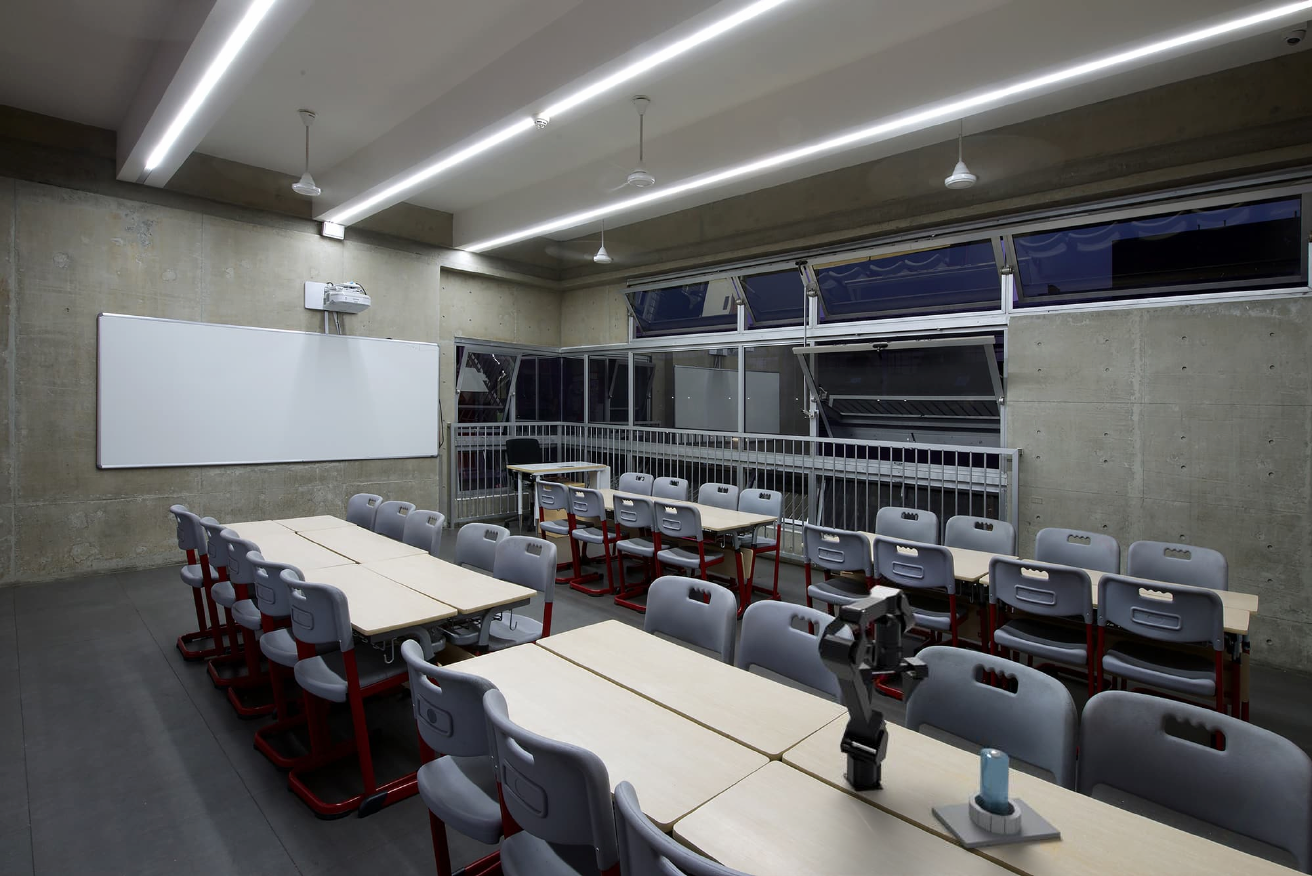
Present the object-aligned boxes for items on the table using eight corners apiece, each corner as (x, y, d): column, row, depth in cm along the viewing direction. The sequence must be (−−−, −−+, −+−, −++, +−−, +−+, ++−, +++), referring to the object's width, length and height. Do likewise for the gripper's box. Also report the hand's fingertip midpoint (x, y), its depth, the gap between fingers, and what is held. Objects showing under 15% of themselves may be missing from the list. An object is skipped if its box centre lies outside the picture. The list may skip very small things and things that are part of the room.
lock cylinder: (977, 821, 123) (979, 754, 123) (980, 807, 127) (982, 743, 127) (1006, 830, 120) (1008, 762, 120) (1008, 816, 125) (1010, 750, 124)
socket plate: (966, 848, 117) (967, 827, 117) (931, 811, 128) (932, 792, 128) (1060, 837, 120) (1060, 817, 120) (1018, 802, 131) (1019, 783, 131)
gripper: (905, 626, 156) (904, 687, 157) (835, 630, 153) (834, 692, 154) (931, 642, 145) (930, 707, 146) (856, 647, 142) (856, 713, 143)
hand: (886, 704), depth 147 cm, fingers open, 9 cm apart
